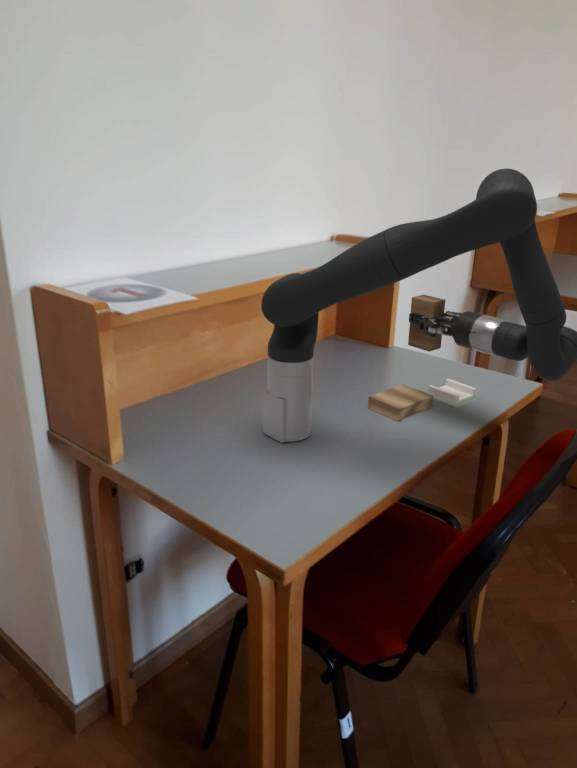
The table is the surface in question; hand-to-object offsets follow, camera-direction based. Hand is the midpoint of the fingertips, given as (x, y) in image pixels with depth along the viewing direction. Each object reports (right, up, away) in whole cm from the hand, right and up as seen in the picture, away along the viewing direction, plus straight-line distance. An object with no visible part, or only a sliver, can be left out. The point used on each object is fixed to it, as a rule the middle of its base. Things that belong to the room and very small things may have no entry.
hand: (417, 315), depth 143 cm
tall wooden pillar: (+2, -7, 0) cm, 7 cm away
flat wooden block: (-3, -21, +4) cm, 21 cm away
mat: (+10, -18, +11) cm, 24 cm away
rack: (+10, -18, +10) cm, 23 cm away
